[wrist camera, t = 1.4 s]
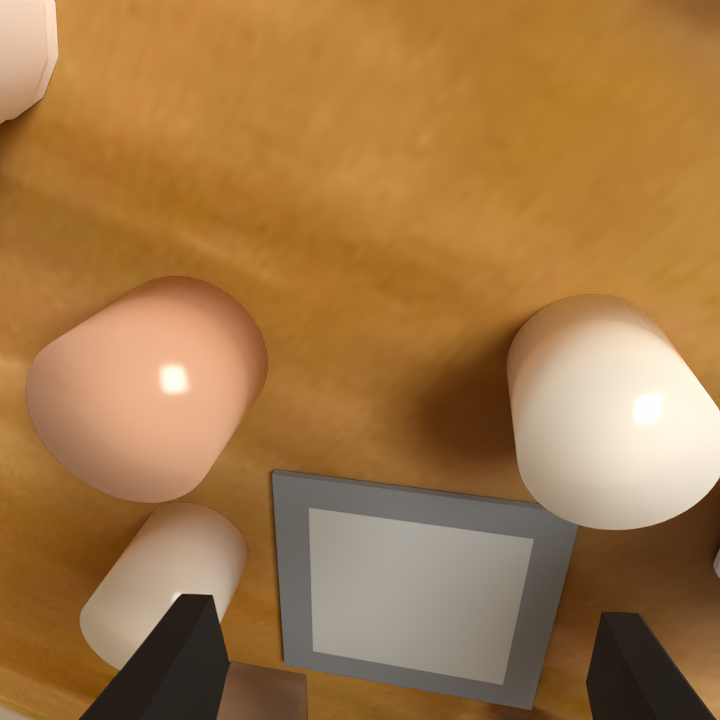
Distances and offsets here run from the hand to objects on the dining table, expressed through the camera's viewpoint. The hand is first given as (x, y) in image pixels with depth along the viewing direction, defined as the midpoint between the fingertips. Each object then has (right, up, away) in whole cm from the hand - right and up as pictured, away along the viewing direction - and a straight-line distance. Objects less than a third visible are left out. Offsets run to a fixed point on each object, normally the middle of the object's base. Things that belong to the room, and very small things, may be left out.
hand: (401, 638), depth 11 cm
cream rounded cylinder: (+7, +5, +8) cm, 12 cm away
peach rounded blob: (-7, +6, +11) cm, 14 cm away
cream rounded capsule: (-8, -3, +15) cm, 18 cm away
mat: (+1, -5, +14) cm, 15 cm away
